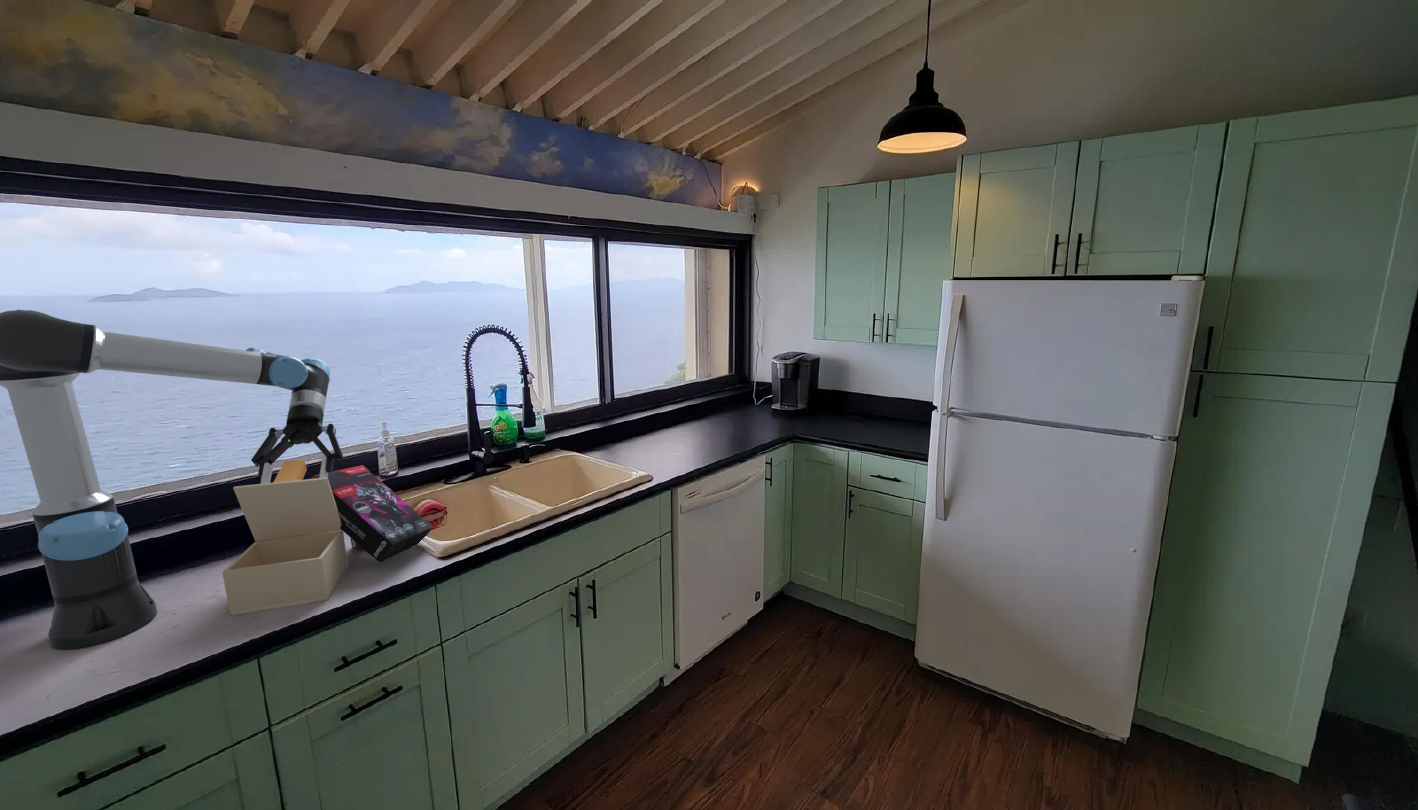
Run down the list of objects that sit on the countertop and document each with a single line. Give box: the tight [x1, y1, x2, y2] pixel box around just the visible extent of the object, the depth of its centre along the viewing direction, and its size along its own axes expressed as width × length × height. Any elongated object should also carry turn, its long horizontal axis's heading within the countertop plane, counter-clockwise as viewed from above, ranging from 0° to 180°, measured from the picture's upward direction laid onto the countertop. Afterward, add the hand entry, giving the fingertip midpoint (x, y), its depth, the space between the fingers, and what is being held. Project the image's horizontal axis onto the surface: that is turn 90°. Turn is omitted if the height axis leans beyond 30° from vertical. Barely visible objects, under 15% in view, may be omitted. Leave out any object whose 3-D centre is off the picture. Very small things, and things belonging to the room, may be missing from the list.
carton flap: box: [233, 459, 342, 542], centre depth 134 cm, size 18×16×10 cm
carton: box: [221, 530, 349, 616], centre depth 128 cm, size 18×16×10 cm
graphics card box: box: [309, 464, 433, 564], centre depth 145 cm, size 17×7×27 cm
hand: (293, 486), depth 133 cm, fingers open, 11 cm apart
